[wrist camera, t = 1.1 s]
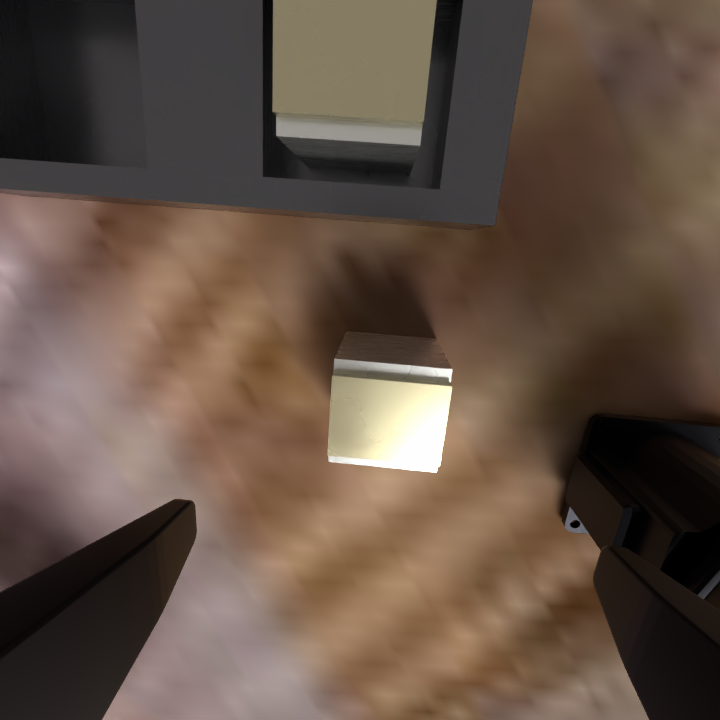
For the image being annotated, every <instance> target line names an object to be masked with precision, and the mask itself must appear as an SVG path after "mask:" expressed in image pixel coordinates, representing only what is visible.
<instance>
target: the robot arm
mask: <svg viewBox="0 0 720 720" xmlns="http://www.w3.org/2000/svg"><path fill="white" fill-rule="evenodd" d="M601 422H604V425H603V426H602V427H600V428H598V425H599V424H600V423H601ZM719 437H720V424H710V423H700V422H689V421H678V420H667V419H657V418H646V417H635V416H624V415H614V414H603V413H600V414H595V415H593V416H592V417H591V418H590V419H589V421H588V424H587V428H586V431H585V435H584V439H583V442H582V446H581V450H580V453H579V455H578V456H577V457H576V459H575V463H574V466H573V470H572V474H571V477H570V481H569V485H568V488H567V492H566V496H565V500H566V504H565V508H564V511H563V515H562V523H563V524H564V526H565V527H566V529H567V530H568V531H570V532H576V533H585V534H590V536H591V537H592V539H593V540H594V541H595V543H596V544H597V546H598V547H599V548H600V550H601V552H600V556H599V559H598V562H597V565H596V568H595V571H594V576H593V582H594V587H595V590H596V593H597V595H598V598H599V601H600V603H601V606H602V609H603V611H604V614H605V617H606V619H607V622H608V625H609V627H610V630H611V633H612V635H613V638H614V641H615V644H616V646H617V649H618V652H619V654H620V657H621V659H622V662H623V664H624V666H625V669H626V671H627V673H628V675H629V678H630V680H631V682H632V684H633V686H634V688H635V690H636V693H637V695H638V697H639V699H640V701H641V703H642V705H643V707H644V709H645V712H646V714H647V716H648V718H649V720H720V438H719ZM573 520H576V521H575V522H573V523H571V521H573ZM196 533H197V527H196V511H195V504H194V502H193V501H191V500H183V499H174V500H172V501H170V502H168V503H166V504H164V505H163V506H161V507H159V508H157V509H155V510H153V511H151V512H149V513H148V514H146V515H144V516H142V517H140V518H138V519H136V520H134V521H133V522H131V523H129V524H127V525H125V526H123V527H121V528H119V529H118V530H116V531H114V532H112V533H110V534H108V535H106V536H104V537H103V538H101V539H99V540H97V541H95V542H93V543H91V544H90V545H88V546H86V547H84V548H82V549H80V550H78V551H76V552H75V553H73V554H71V555H69V556H67V557H65V558H63V559H61V560H60V561H58V562H56V563H54V564H52V565H50V566H48V567H46V568H45V569H43V570H41V571H39V572H37V573H35V574H33V575H31V576H30V577H28V578H26V579H24V580H22V581H20V582H18V583H16V584H14V585H13V586H11V587H9V588H7V589H5V590H3V591H1V592H0V720H102V719H103V717H104V715H105V713H106V712H107V710H108V708H109V706H110V704H111V703H112V701H113V699H114V697H115V696H116V694H117V692H118V690H119V689H120V687H121V685H122V683H123V682H124V680H125V678H126V676H127V674H128V673H129V671H130V669H131V667H132V666H133V664H134V662H135V660H136V659H137V657H138V655H139V653H140V652H141V650H142V648H143V646H144V644H145V643H146V641H147V639H148V637H149V636H150V634H151V632H152V630H153V629H154V627H155V625H156V623H157V621H158V620H159V618H160V616H161V614H162V612H163V610H164V608H165V606H166V604H167V602H168V600H169V598H170V595H171V593H172V591H173V589H174V586H175V584H176V582H177V580H178V577H179V575H180V573H181V571H182V568H183V566H184V564H185V562H186V560H187V557H188V555H189V553H190V551H191V548H192V546H193V544H194V541H195V538H196Z"/></svg>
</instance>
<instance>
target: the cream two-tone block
mask: <svg viewBox="0 0 720 720" xmlns="http://www.w3.org/2000/svg"><path fill="white" fill-rule="evenodd" d="M451 376H452V367H451V366H450V364H449V362H448V360H447V358H446V356H445V354H444V353H443V351H442V349H441V347H440V345H439V343H438V341H437V340H436V339H433V338H421V337H410V336H398V335H387V334H375V333H364V332H352V331H346V333H345V336H344V338H343V340H342V342H341V345H340V347H339V349H338V351H337V354H336V356H335V358H334V372H333V374H332V385H331V403H330V421H329V439H328V456H329V461H328V462H337V463H347V464H357V465H367V466H377V467H387V468H397V469H407V470H417V471H427V472H437V467H440V463H441V456H442V450H443V443H444V437H445V430H446V424H447V418H448V411H449V405H450V398H451V392H452V385H451V383H450V382H451Z"/></svg>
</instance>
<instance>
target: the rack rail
mask: <svg viewBox="0 0 720 720" xmlns="http://www.w3.org/2000/svg"><path fill="white" fill-rule="evenodd" d="M532 2H533V0H437V3H436V12H435V22H434V31H433V40H432V49H431V59H430V68H429V77H428V86H427V96H426V105H425V114H424V122H423V126H422V134H421V143H420V148H419V151H418V153H417V156H416V159H415V162H414V165H413V168H412V171H411V173H410V174H404V173H390V172H376V171H361V170H347V169H333V168H319V167H307V166H306V165H305V164H304V163H303V162H302V161H301V160H300V159H299V158H298V157H297V156H296V155H295V154H294V153H293V152H292V151H291V150H290V149H289V148H288V147H287V146H286V145H285V144H284V143H283V142H282V141H281V140H280V139H279V138H278V137H277V136H276V115H275V114H274V113H273V112H272V104H273V0H0V193H6V194H14V195H21V196H34V197H47V198H60V199H74V200H87V201H100V202H113V203H127V204H140V205H153V206H166V207H180V208H193V209H206V210H220V211H233V212H246V213H259V214H273V215H286V216H299V217H313V218H326V219H339V220H352V221H366V222H379V223H392V224H406V225H419V226H432V227H445V228H459V229H472V230H473V229H479V228H484V227H490V226H495V223H496V217H497V211H498V205H499V199H500V193H501V187H502V181H503V175H504V169H505V163H506V157H507V151H508V145H509V139H510V133H511V128H512V122H513V116H514V110H515V104H516V98H517V92H518V86H519V80H520V74H521V68H522V62H523V56H524V50H525V44H526V38H527V32H528V26H529V20H530V14H531V8H532Z"/></svg>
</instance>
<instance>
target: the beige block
mask: <svg viewBox="0 0 720 720" xmlns="http://www.w3.org/2000/svg"><path fill="white" fill-rule="evenodd" d="M436 3H437V0H273V104H272V112H273V113H274V114H275V115H276V136H277V137H278V138H279V139H280V140H281V141H282V142H283V143H284V144H285V145H286V146H287V147H288V148H289V149H290V150H291V151H292V152H293V153H294V154H295V155H296V156H297V157H298V158H299V159H300V160H301V161H302V162H303V163H304V164H305V165H306V166H307V167H319V168H333V169H347V170H361V171H376V172H390V173H404V174H410V173H411V171H412V168H413V165H414V162H415V159H416V156H417V153H418V151H419V148H420V143H421V134H422V126H423V122H424V114H425V105H426V96H427V86H428V77H429V68H430V59H431V49H432V40H433V31H434V22H435V12H436Z"/></svg>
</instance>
